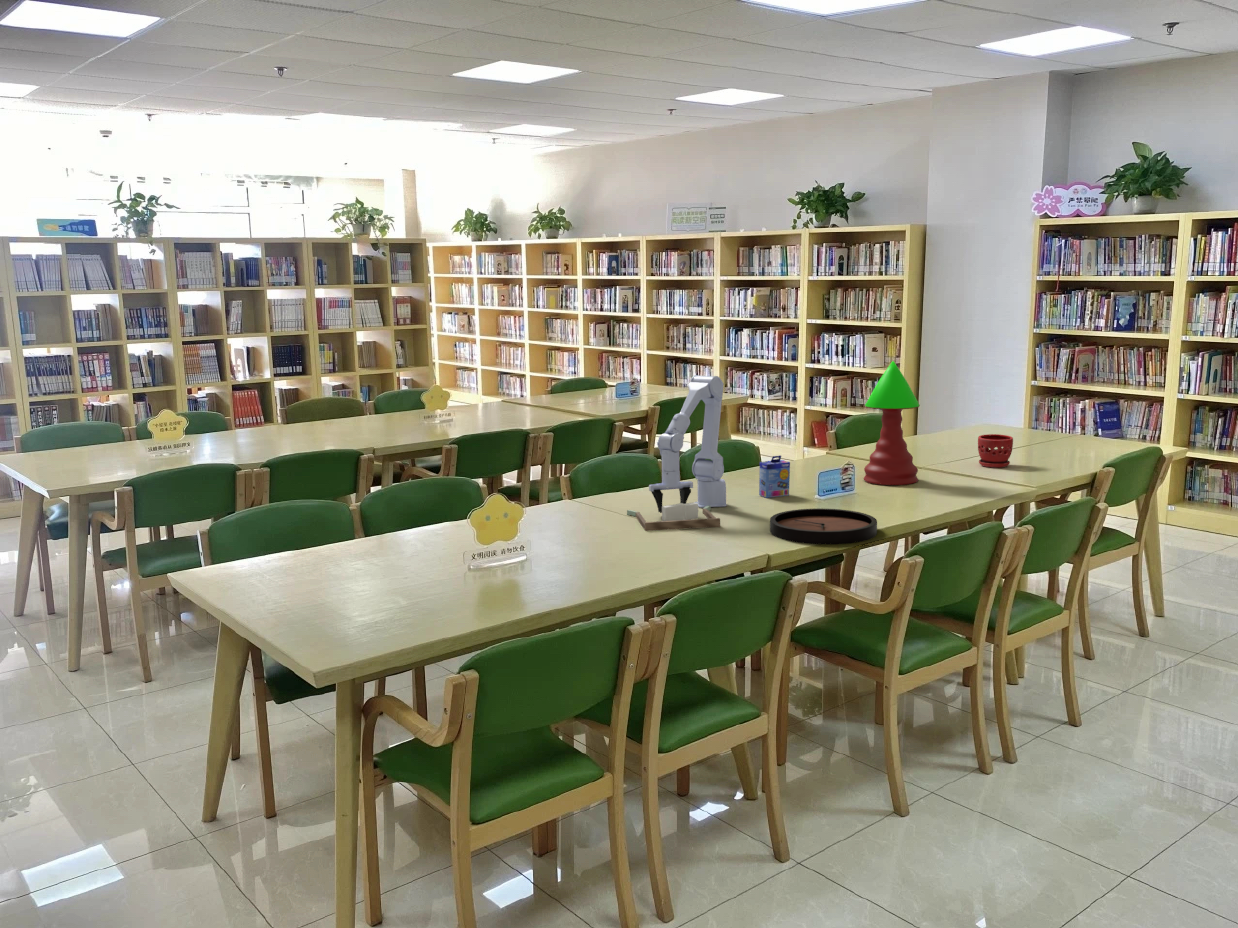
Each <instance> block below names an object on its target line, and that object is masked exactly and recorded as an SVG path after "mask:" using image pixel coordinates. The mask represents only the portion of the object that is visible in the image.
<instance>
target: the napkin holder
mask: <svg viewBox="0 0 1238 928" xmlns="http://www.w3.org/2000/svg"><path fill="white" fill-rule="evenodd" d="M692 519H699V507H698V503H695V501H693V502H689V503H687V502H686V504H683V503H680V502H679V503H674V504H667V505H662V513H661V521H674V520H692Z"/></svg>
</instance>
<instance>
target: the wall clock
mask: <svg viewBox="0 0 1238 928" xmlns="http://www.w3.org/2000/svg"><path fill="white" fill-rule="evenodd" d="M769 533H770V534H771V535H772V536H773V537H775V538H778V539H779V540H780V539H781V540H784V541H787V542H792V543H799V544H805V545H822V546H823V545H824V546H826V545H830V546H831V545H849V544H856V543H857V544H858V543H861V542H865V541H869V540H872V539H874V538H875V537H876V536H877V534H878V520H877V518H875V517H874V516H872V515H869V514H868V513H864V512H860V511H854V510H847V509H839V508H801V509H800V508H799V509H792V510H791V509H790V510H786V511H780V512H779V513H775V514H773V515H772V516H770V519H769Z"/></svg>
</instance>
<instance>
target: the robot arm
mask: <svg viewBox="0 0 1238 928" xmlns="http://www.w3.org/2000/svg"><path fill="white" fill-rule="evenodd" d="M687 386H688V388H687V389H688V393H687V395H686V398H685V400H684V402H683V405H682V407H681V410H680V412H679V413H675V414H674V416H673V417H672V419H671V421H670V423H669V425H668V427H667V428H666V430H665V432H664V433H662V434H660V436H659V437H658V440H657V442H656V443H657V444H656V445H657V448H658V450H659V455H660V456H661V482H660V483H654V484H648V491H649V492H651V494H652V496H653V499H654V500H655V503H656V507H657V510H658V513H660V514H662V506H663V497H664V493H663V492H662V491H666V490H667V491H668V490H678V491H679V499H680V502H679V503H683V504H686V503H687V501H688V499H689V496H690V495H691V494H692V489H693V488H694V482H693V481H690V480H688V481H685V480H684V481H681V479H680V478H681V475H680V473H681V472H680V451H681V450H682V448H683V447H684V439H685V437H684V436H685V434H686V432H687V430H688V428H689V426H690V424H691V420H690V417H691V415H693V412H694V411H695V409H696V407H697V406H698V405H699V403H700V402H701V401H702V402H703V403H704V414H703V426H702V427H703V428H702V437H701V447H700V448H701V449H700V450H699V451H698V452H697V453H696V454H695V455H694V461H693V462H692V466H691V472H692V474H693V476H694V477H695V479H696V480H697V501H694V503H698V509H700V508H702V509H703V508H704V507H706V506H711V508H718V507H727V506H728V504H727V486H726V485H727V483H726V480H725V479H724V478H722V477H723V475H724V471H725V467H724V457H723V456H722V455H721V454H720V453H719V452H718V447H719V446H718V445H719V443H718V442H719V434H720V425H721V424H720V423H721V411H722V402H723V395H724V394H723V392H724V382H723V380H722V378H720V377H719V376H718V375H713V376H712V375H699V374H695V375H693V376H692V377H691V378H690V382H689V383H688V385H687Z"/></svg>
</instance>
